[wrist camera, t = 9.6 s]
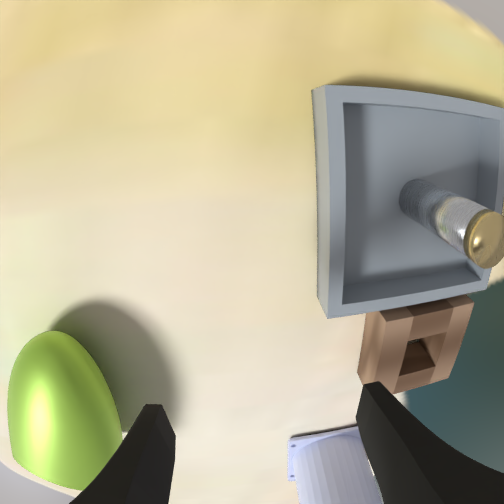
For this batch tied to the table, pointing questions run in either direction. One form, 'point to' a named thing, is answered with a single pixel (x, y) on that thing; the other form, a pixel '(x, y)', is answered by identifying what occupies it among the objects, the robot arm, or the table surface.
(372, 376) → the pin block
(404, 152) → the tray
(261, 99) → the table surface
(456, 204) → the pin
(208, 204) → the table surface
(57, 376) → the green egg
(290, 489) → the table surface
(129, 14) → the table surface
